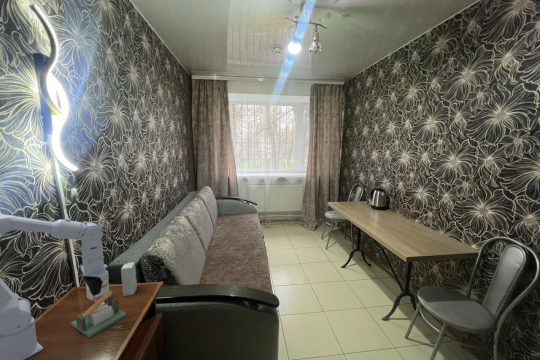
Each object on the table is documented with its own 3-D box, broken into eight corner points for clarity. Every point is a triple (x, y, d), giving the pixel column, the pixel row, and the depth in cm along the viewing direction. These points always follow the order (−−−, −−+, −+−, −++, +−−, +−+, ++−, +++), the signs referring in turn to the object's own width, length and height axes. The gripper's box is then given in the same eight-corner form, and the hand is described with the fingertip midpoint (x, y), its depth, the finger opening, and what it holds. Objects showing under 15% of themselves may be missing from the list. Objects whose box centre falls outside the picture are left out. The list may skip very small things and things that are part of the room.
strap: (85, 318, 80) (84, 317, 79) (82, 316, 81) (81, 315, 80) (112, 293, 87) (111, 291, 87) (109, 291, 88) (108, 290, 88)
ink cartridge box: (110, 297, 98) (108, 264, 96) (97, 304, 94) (94, 269, 92) (99, 291, 102) (97, 259, 100) (86, 298, 98) (83, 264, 96)
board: (89, 337, 77) (87, 321, 76) (71, 325, 82) (69, 309, 82) (126, 315, 87) (125, 300, 87) (108, 305, 93) (107, 291, 92)
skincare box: (134, 294, 100) (132, 267, 99) (122, 296, 99) (120, 269, 98) (137, 286, 106) (135, 261, 105) (126, 288, 105) (124, 262, 103)
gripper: (116, 257, 82) (119, 293, 83) (94, 249, 88) (97, 283, 90) (94, 266, 76) (97, 305, 77) (72, 256, 82) (75, 292, 84)
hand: (96, 294), depth 83 cm, fingers closed
